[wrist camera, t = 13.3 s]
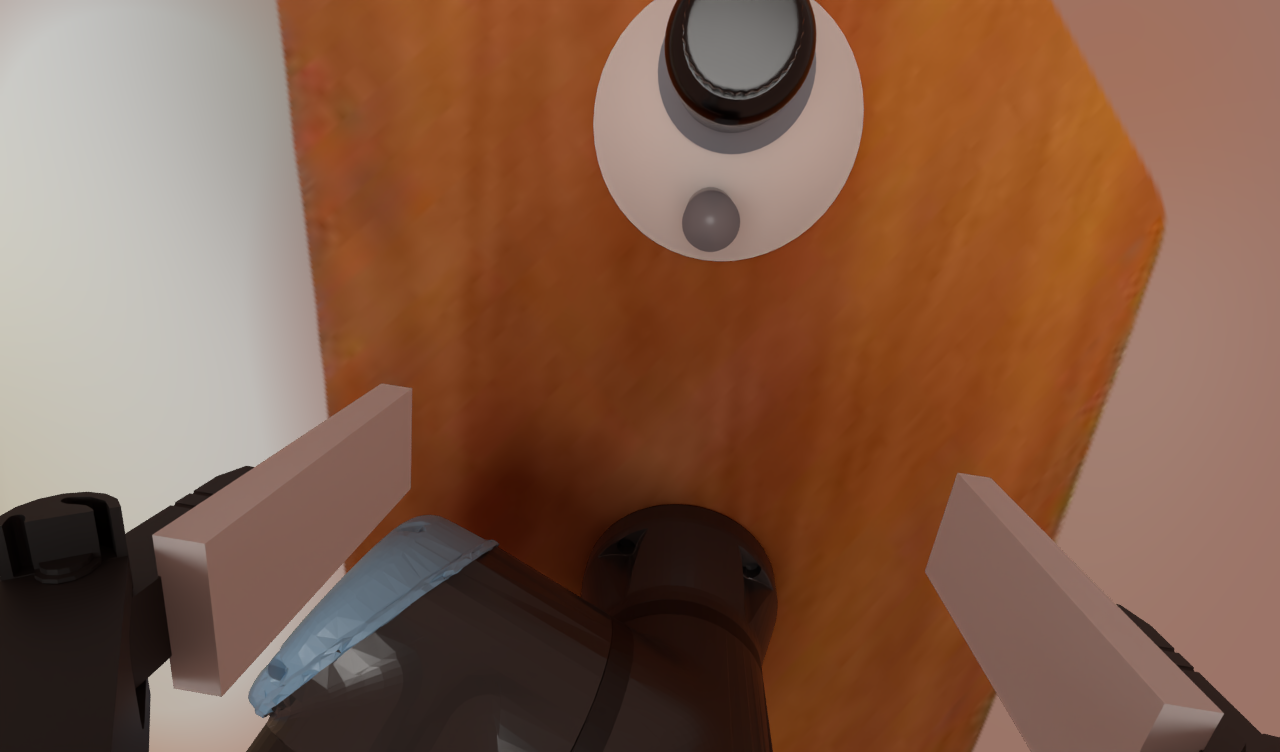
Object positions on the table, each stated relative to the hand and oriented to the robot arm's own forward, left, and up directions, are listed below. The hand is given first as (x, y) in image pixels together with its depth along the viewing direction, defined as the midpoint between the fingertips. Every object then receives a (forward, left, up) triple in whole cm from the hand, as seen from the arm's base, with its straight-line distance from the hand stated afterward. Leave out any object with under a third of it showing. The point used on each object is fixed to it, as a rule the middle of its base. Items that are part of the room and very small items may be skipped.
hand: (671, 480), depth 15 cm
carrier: (+9, 0, -28) cm, 29 cm away
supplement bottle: (+12, 0, -26) cm, 29 cm away
